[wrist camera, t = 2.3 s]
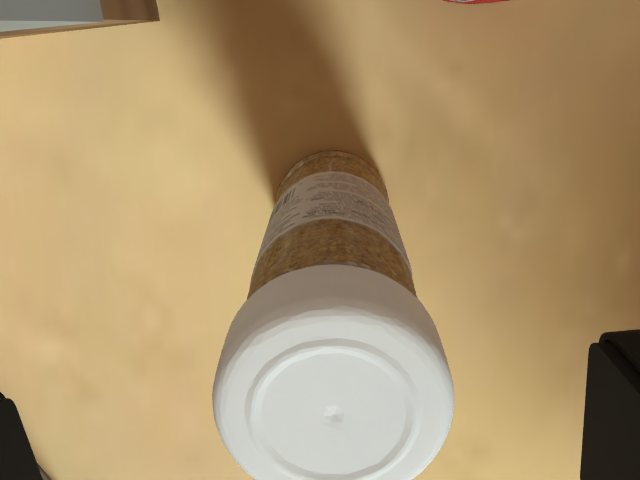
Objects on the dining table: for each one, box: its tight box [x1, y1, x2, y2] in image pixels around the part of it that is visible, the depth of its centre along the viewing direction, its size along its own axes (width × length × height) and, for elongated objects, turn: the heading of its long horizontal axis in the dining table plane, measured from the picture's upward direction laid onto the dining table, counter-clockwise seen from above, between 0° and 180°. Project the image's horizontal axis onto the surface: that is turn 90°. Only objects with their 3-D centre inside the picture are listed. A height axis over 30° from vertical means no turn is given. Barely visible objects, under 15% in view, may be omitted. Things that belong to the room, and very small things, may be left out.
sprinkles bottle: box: [212, 151, 454, 480], centre depth 17 cm, size 5×5×14 cm
